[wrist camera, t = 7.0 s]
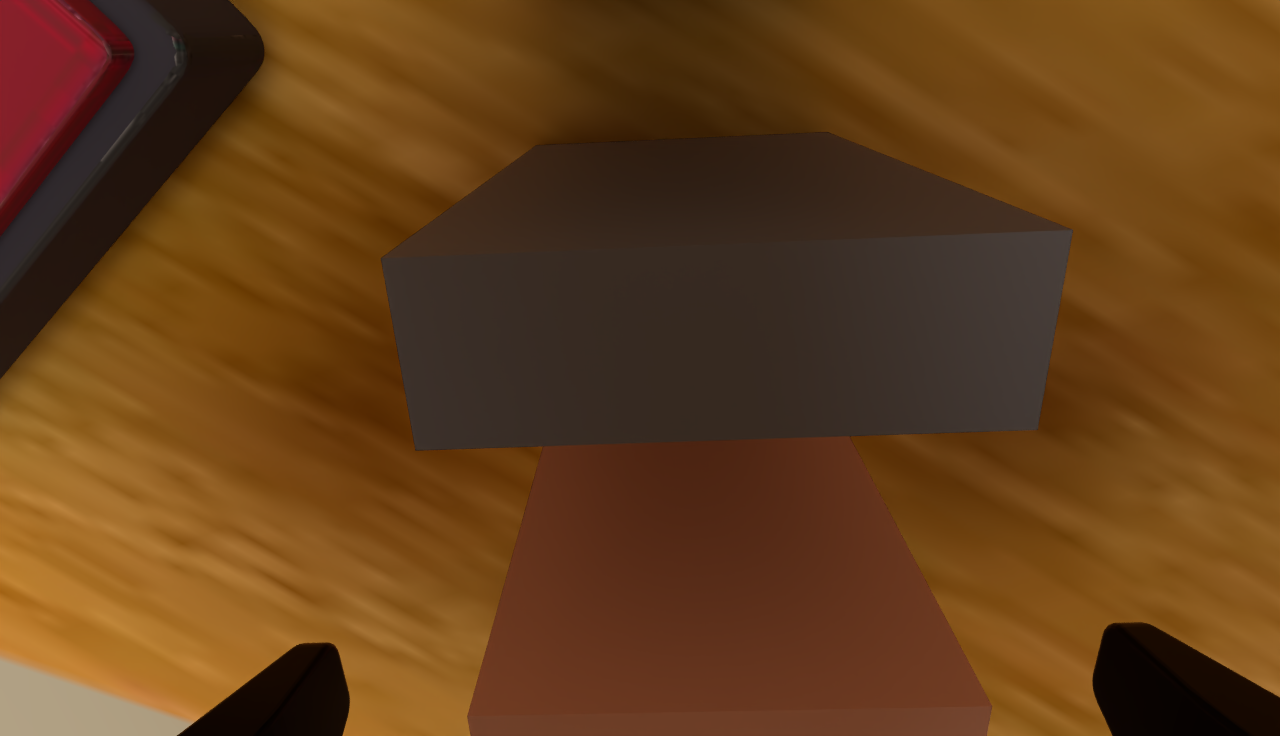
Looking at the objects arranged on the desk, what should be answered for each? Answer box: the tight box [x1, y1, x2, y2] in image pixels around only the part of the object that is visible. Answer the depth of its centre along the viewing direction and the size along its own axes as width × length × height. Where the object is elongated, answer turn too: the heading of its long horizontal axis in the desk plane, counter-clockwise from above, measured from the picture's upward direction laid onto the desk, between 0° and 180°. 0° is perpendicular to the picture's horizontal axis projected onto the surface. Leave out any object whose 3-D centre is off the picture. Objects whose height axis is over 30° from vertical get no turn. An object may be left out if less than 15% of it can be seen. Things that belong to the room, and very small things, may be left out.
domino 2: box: [467, 436, 992, 736], centre depth 11 cm, size 5×2×8 cm, turn 92°
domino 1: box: [381, 132, 1073, 450], centre depth 9 cm, size 5×2×8 cm, turn 93°
